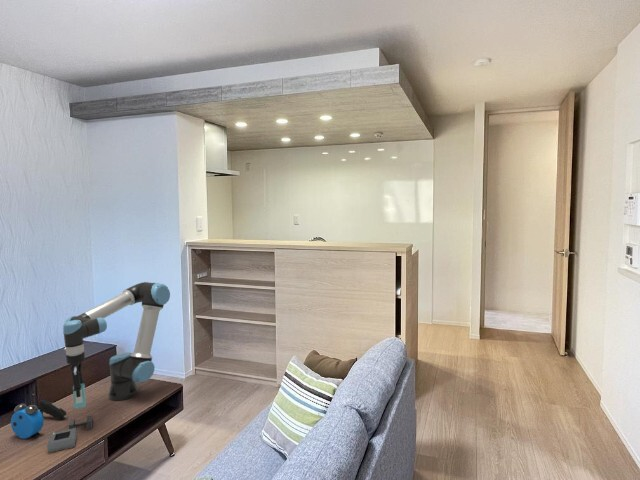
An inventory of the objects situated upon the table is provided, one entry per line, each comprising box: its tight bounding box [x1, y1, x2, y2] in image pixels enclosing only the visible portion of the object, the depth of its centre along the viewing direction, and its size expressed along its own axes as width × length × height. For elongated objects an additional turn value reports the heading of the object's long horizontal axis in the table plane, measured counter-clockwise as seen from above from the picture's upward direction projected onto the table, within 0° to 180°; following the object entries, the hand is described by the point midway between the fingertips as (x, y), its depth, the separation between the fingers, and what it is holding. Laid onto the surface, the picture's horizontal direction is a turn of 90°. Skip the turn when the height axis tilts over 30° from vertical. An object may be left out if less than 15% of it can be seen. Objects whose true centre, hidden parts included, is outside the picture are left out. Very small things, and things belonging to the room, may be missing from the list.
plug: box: [72, 382, 87, 410], centre depth 200 cm, size 4×4×11 cm
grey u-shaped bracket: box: [67, 415, 94, 431], centre depth 201 cm, size 9×7×4 cm
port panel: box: [46, 427, 78, 454], centre depth 187 cm, size 10×10×4 cm
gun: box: [38, 399, 68, 421], centre depth 211 cm, size 3×16×10 cm, turn 79°
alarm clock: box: [10, 403, 45, 439], centre depth 195 cm, size 13×6×15 cm, turn 75°
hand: (80, 400), depth 200 cm, fingers closed on plug, 4 cm apart
